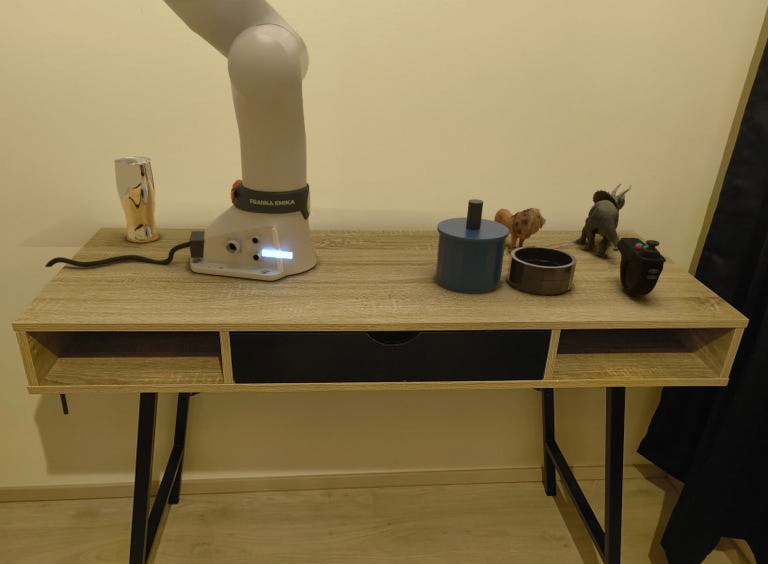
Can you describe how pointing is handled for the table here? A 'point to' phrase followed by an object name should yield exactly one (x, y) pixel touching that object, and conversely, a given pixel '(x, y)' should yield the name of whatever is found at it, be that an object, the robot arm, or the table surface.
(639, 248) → the controller
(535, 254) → the pan
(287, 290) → the table surface
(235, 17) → the robot arm
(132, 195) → the beer glass
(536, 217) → the lion figurine
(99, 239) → the table surface
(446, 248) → the pot
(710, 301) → the table surface
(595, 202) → the toy dinosaur
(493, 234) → the lid
